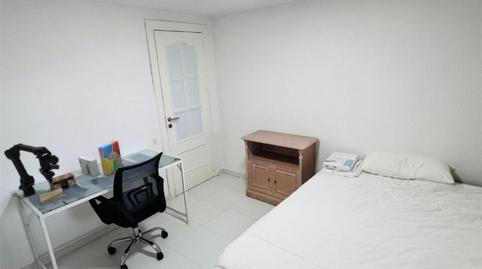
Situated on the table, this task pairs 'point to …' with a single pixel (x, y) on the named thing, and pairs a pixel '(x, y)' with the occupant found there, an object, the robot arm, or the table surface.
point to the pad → (54, 200)
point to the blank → (51, 195)
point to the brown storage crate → (63, 181)
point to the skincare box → (89, 165)
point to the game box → (110, 157)
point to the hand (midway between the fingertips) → (49, 181)
